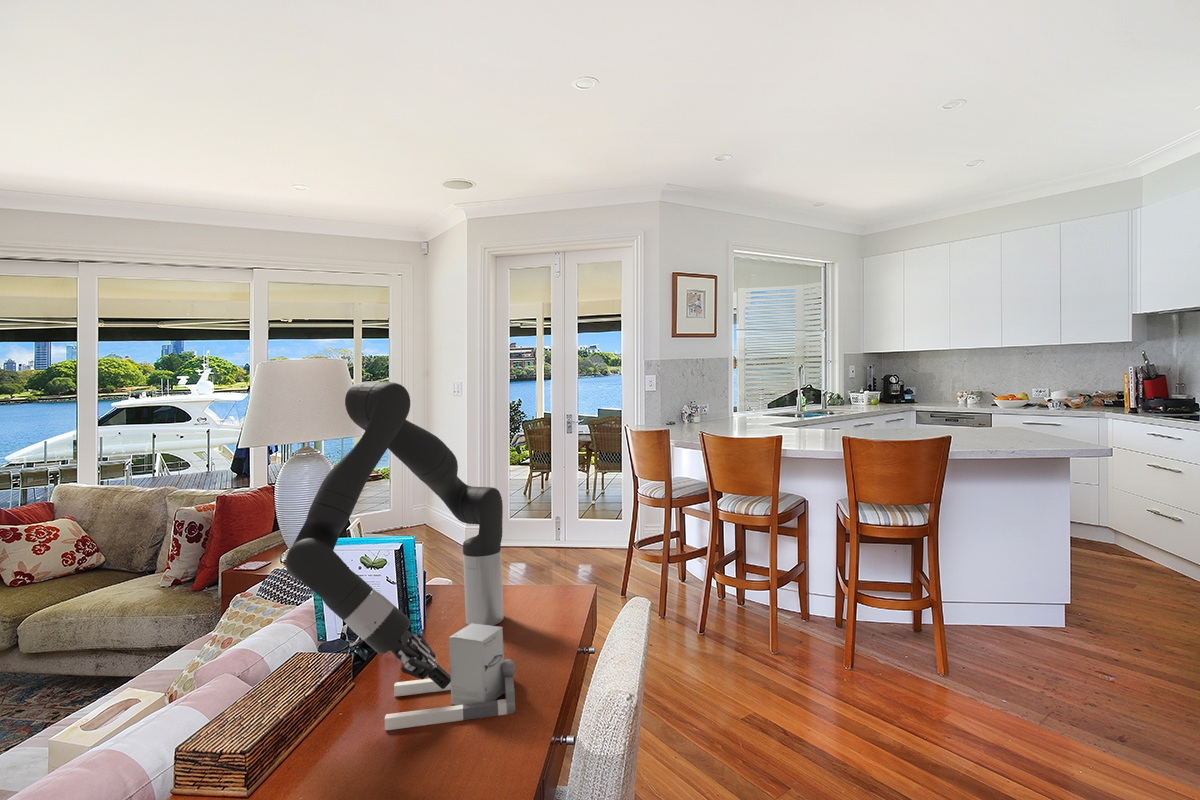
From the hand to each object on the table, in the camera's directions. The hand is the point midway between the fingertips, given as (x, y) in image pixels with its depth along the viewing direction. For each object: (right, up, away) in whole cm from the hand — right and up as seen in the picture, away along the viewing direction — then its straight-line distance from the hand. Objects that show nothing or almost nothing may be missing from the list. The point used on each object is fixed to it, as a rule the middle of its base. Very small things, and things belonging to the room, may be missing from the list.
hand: (447, 683), depth 115 cm
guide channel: (+1, -4, 0) cm, 4 cm away
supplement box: (+5, -4, +2) cm, 7 cm away
